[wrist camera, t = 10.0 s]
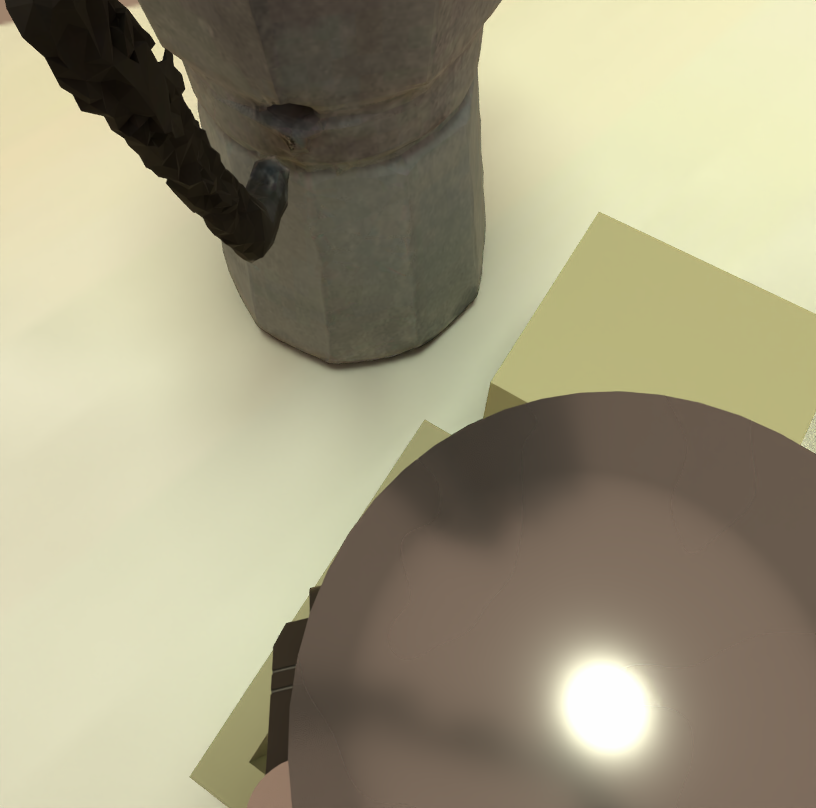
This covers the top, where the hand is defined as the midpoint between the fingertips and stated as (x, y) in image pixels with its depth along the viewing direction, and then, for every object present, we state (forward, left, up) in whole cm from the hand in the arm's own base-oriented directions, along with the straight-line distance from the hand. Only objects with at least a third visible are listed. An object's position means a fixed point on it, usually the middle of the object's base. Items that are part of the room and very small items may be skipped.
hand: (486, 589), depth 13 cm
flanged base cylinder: (-1, -1, -6) cm, 6 cm away
